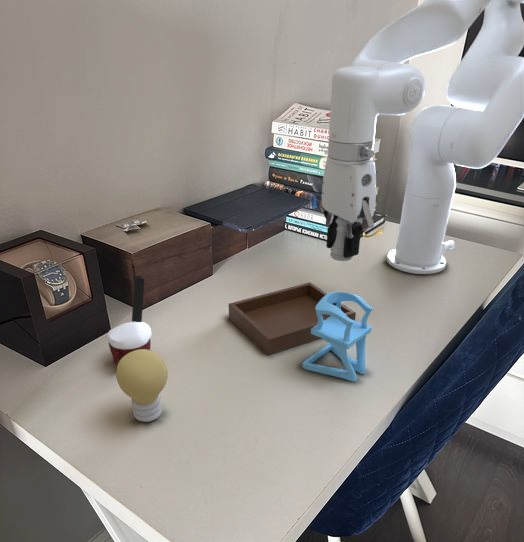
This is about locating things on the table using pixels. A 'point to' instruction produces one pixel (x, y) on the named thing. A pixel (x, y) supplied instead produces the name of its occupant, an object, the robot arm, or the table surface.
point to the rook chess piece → (340, 241)
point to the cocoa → (131, 328)
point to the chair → (340, 335)
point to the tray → (281, 317)
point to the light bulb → (143, 382)
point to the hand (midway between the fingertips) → (342, 250)
